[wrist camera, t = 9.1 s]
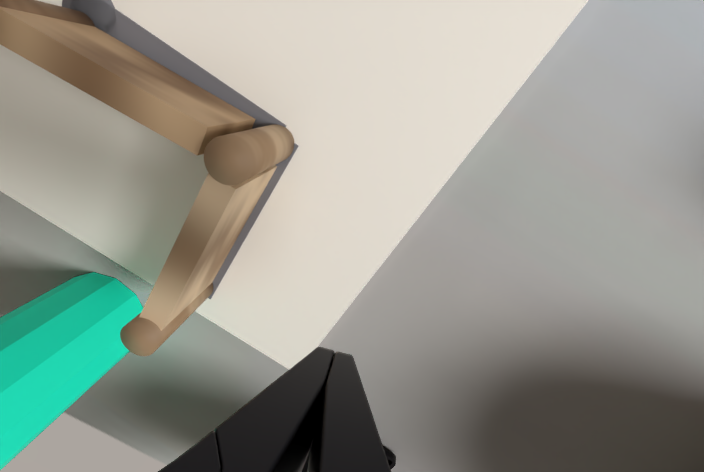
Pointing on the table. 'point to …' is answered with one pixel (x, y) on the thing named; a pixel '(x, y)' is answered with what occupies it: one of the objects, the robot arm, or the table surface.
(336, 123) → the board
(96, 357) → the candle
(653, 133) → the table surface
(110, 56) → the fence gate
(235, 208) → the fence fixed
